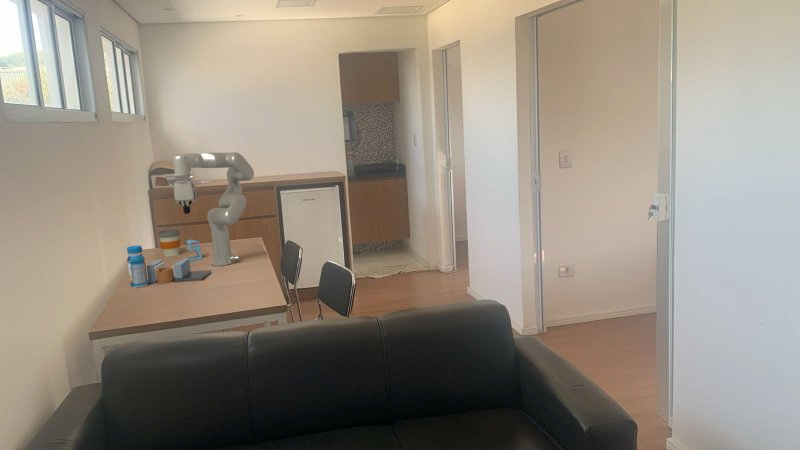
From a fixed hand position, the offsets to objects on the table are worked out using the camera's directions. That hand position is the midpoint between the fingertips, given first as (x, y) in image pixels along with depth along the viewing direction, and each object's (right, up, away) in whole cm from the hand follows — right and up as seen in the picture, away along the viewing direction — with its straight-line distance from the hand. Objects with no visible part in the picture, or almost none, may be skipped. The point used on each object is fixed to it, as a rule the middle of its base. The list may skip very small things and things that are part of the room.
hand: (187, 213), depth 325 cm
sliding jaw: (0, -32, -5) cm, 32 cm away
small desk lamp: (-10, -26, +43) cm, 51 cm away
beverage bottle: (-18, -37, -15) cm, 44 cm away
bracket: (-7, -34, -5) cm, 35 cm away
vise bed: (+5, -33, -5) cm, 34 cm away
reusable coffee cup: (-30, -25, +60) cm, 71 cm away
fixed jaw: (-14, -34, -5) cm, 37 cm away
